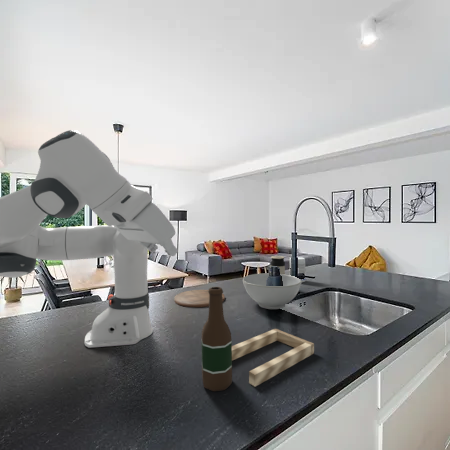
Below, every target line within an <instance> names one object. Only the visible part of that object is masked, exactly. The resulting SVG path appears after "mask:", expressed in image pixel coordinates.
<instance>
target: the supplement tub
mask: <svg viewBox="0 0 450 450" xmlns="http://www.w3.org/2000/svg"><path fill="white" fill-rule="evenodd" d="M297 257H298V268H299V273H304V274H305V275H306V258H305V257H301V256H297ZM290 268H291V257H289V269H290ZM306 280H307V279H306V278H305V279H303V280H301V284H302V283H305V282H306Z"/></svg>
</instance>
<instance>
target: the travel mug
mask: <svg viewBox="0 0 450 450" xmlns="http://www.w3.org/2000/svg"><path fill="white" fill-rule="evenodd" d="M270 258H271V261H270V267H271V266H277V267H279V268H280V274H285V275H286V262H285V261H284V260H285V256H282V255H273V256H270Z"/></svg>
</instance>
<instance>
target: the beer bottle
mask: <svg viewBox="0 0 450 450" xmlns="http://www.w3.org/2000/svg"><path fill="white" fill-rule="evenodd" d="M208 290H209V291H208V292H209V307H208V315H207V320H206V322H205V323H204V324H203V327H202V329H201V339H200V341H201V342H200V343H201V346H200V347H201V379H202V384H203V388H204V389H206V390H208V391H212V392H219V391H226V389H228V388H229V387H230V386H231V385H232V382H233V361H232V346H233V343H232V342H233V341H232V339H233V338H232V332H231V330H230V327H229V325H228V323H227V322H226V320H225V316H224V305H223V303H224V301H223V302H222V293H223V294H224V291H223V288H222V287H220V286H212V287H209V288H208Z"/></svg>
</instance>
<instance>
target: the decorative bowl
mask: <svg viewBox="0 0 450 450" xmlns="http://www.w3.org/2000/svg"><path fill="white" fill-rule="evenodd" d="M280 275H281V276H282V281H283V286H266V280H267V278H268V276H269V273H254V274H249V275H246V276H244V277H243V278H242V283H243V287H244V289H245V291H246V293H247V294H248V296H249V297H250V298H251V299H252V300H253V301H254V302H256V304H257V305H258V306H259V307H260V308H263V309H268V310H279V309H280V310H281V309H283V308H285V307H286V305H287V304H288V303H291V301H293V299H294V298H295V297H296V296H297V294H298V293H299V290H300V289H301V285H302V283H301V279H299V278H297V277H295V276H291V275H290V274H286V273H285V274H280Z"/></svg>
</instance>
